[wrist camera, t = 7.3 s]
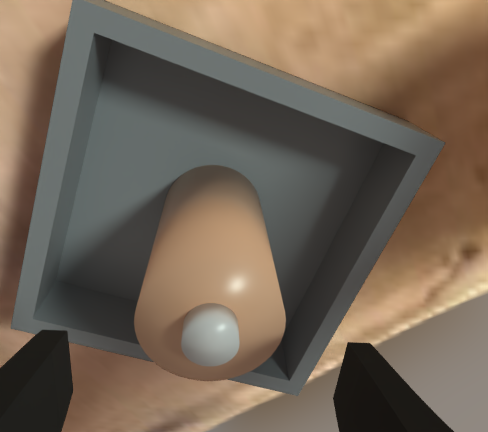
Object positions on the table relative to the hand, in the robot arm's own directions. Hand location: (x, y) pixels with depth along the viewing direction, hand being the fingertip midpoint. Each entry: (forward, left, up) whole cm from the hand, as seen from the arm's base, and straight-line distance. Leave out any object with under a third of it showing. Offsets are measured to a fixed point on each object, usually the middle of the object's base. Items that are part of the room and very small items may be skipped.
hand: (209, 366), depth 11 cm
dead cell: (0, 0, -10) cm, 10 cm away
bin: (0, 0, -10) cm, 10 cm away
